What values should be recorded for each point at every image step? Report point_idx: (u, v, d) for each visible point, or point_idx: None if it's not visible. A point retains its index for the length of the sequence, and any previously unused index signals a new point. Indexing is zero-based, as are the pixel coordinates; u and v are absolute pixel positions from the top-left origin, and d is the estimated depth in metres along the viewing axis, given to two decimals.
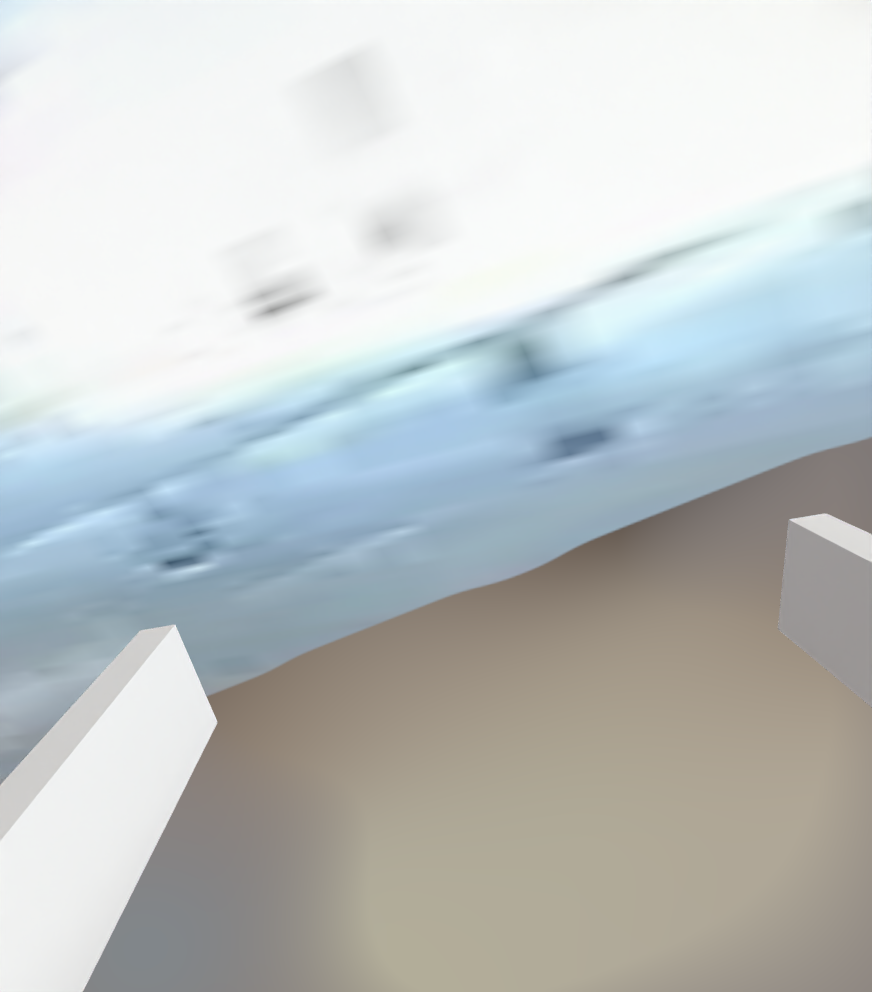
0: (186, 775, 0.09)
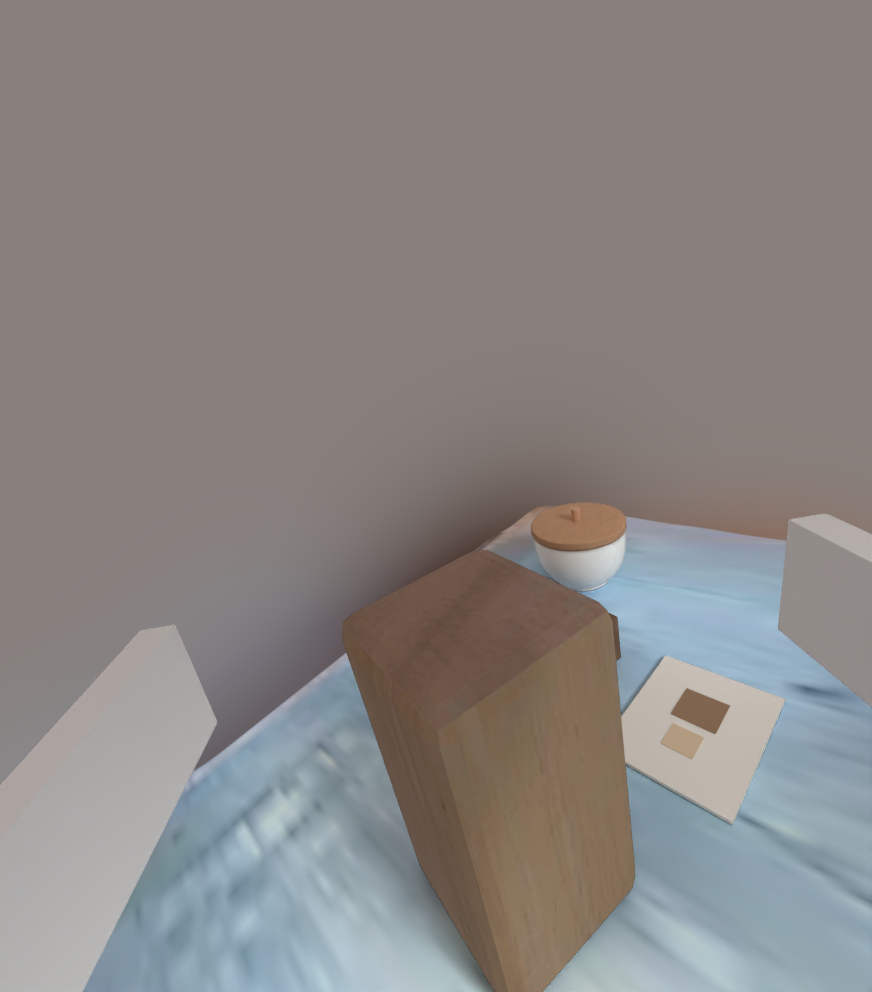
0: (186, 775, 0.09)
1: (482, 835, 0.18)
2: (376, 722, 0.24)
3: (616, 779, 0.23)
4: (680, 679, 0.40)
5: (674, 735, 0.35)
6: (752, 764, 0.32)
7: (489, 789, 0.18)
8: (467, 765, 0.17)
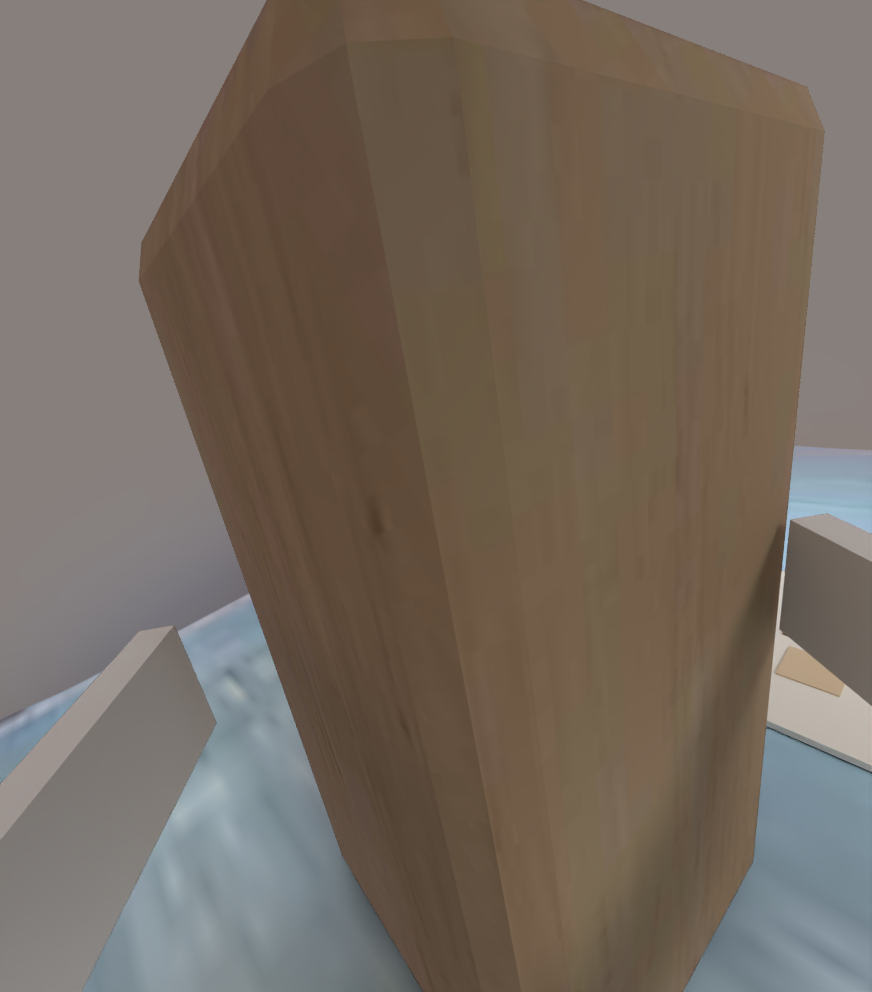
0: (185, 776, 0.09)
1: (518, 637, 0.05)
2: (225, 489, 0.10)
3: (773, 602, 0.10)
4: None
5: (797, 662, 0.21)
6: None
7: (551, 439, 0.05)
8: (479, 239, 0.04)
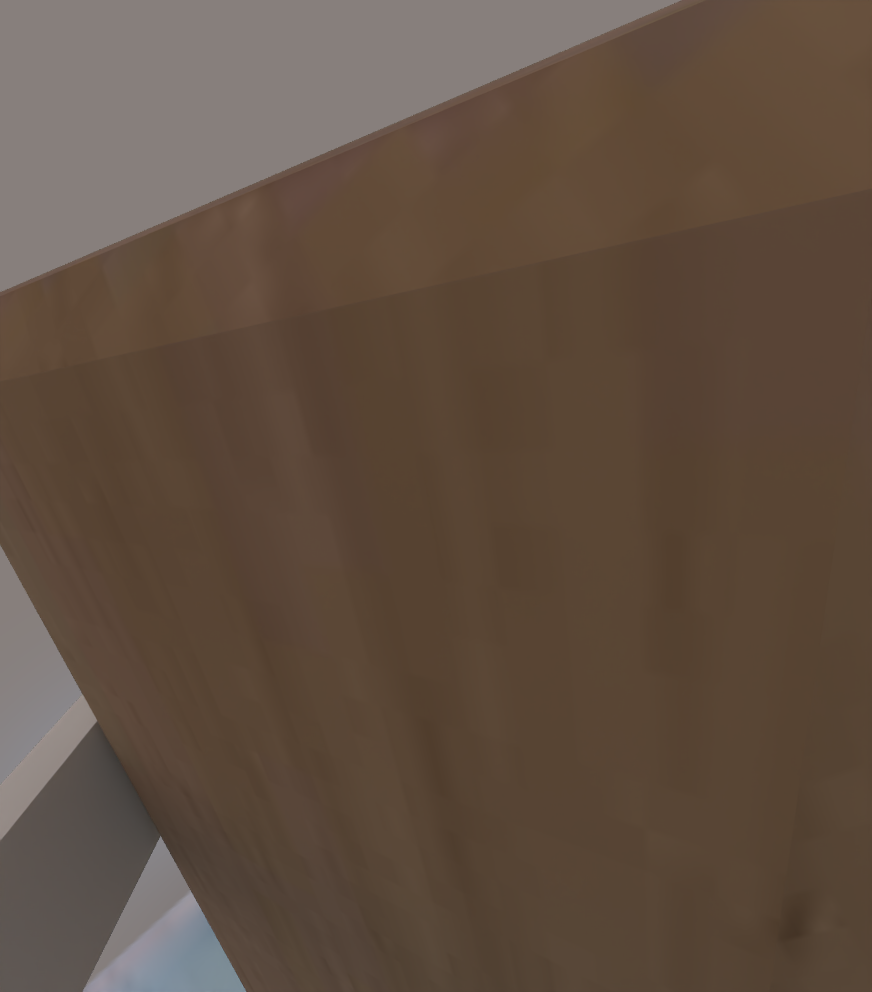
0: None
1: None
2: (147, 730, 0.06)
3: None
4: None
5: None
6: None
7: None
8: None
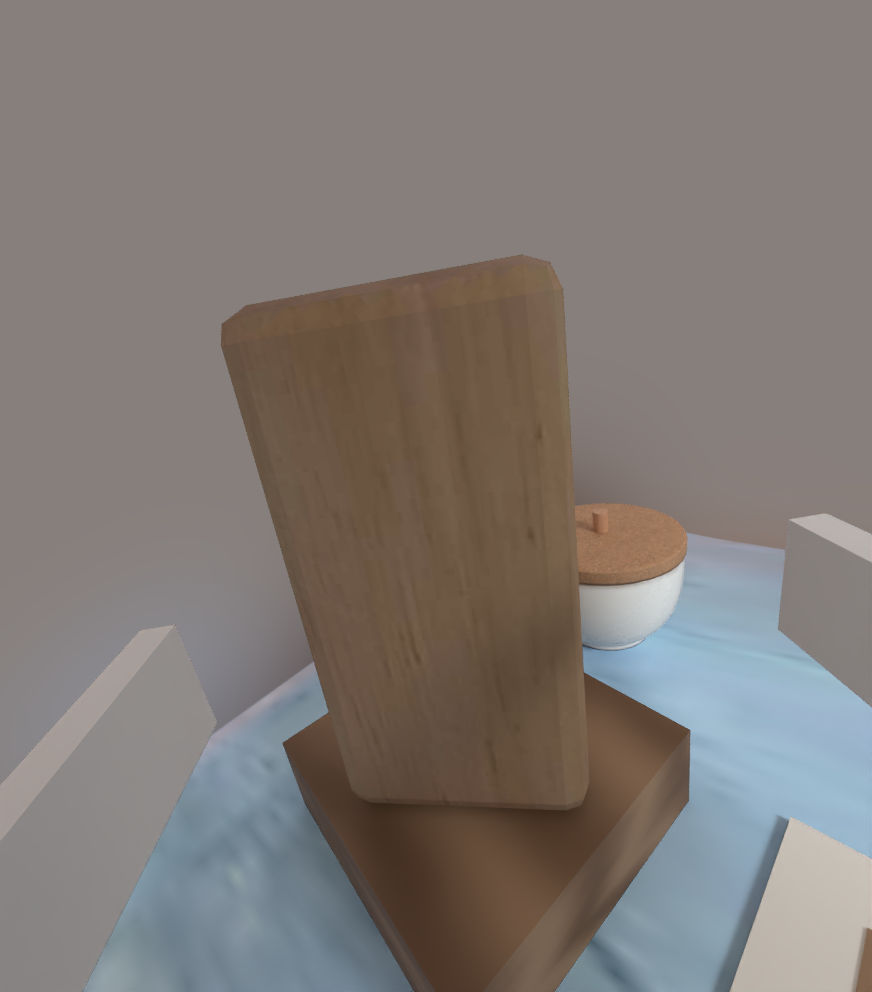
0: (186, 775, 0.09)
1: (571, 472, 0.14)
2: (322, 484, 0.14)
3: None
4: (843, 894, 0.18)
5: None
6: None
7: None
8: (565, 339, 0.13)
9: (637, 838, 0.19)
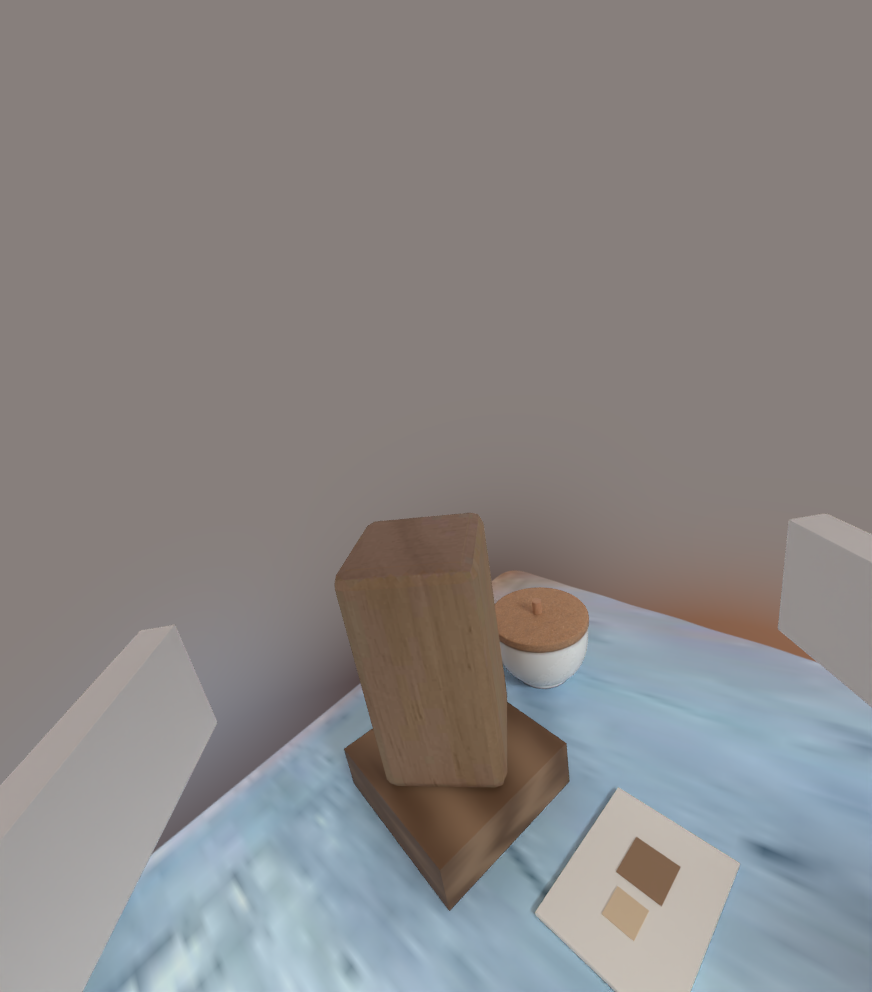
0: (186, 775, 0.09)
1: (486, 639, 0.32)
2: (377, 644, 0.33)
3: (495, 616, 0.41)
4: (630, 823, 0.37)
5: (617, 903, 0.32)
6: (698, 955, 0.29)
7: (484, 608, 0.32)
8: (480, 590, 0.31)
9: (534, 799, 0.38)
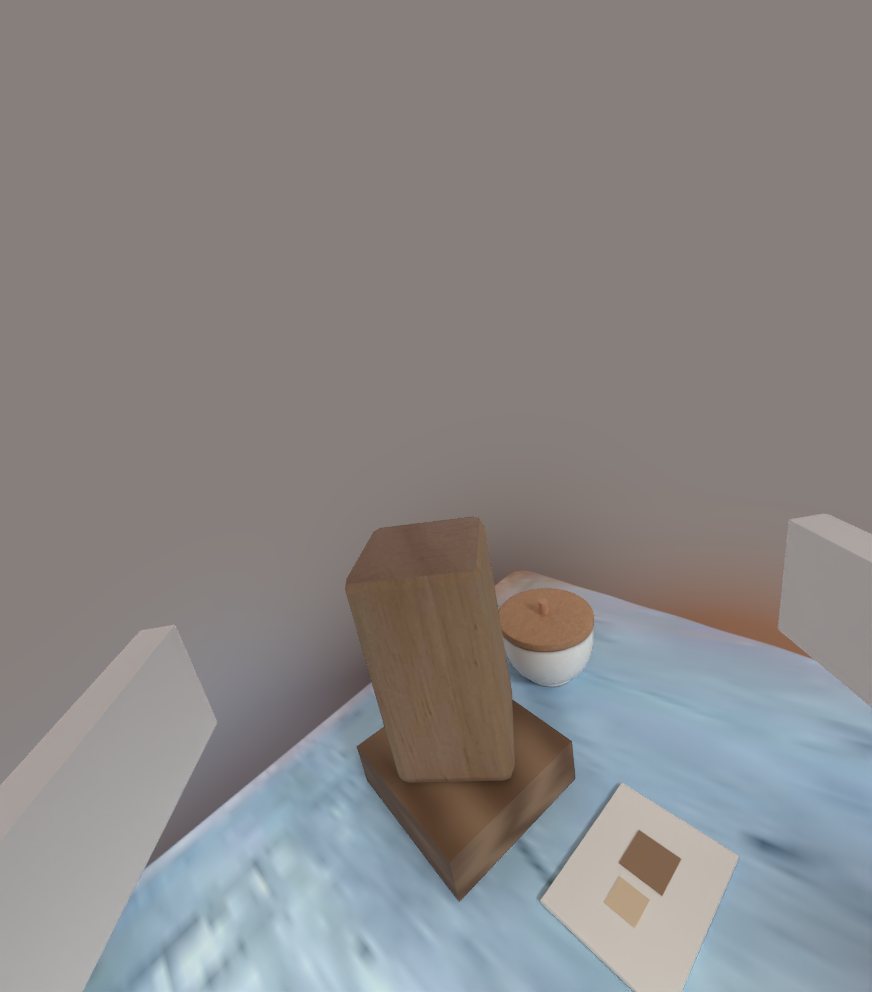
0: (186, 775, 0.09)
1: (491, 636, 0.34)
2: (387, 643, 0.34)
3: (498, 616, 0.42)
4: (633, 817, 0.38)
5: (619, 892, 0.33)
6: (696, 942, 0.30)
7: (488, 606, 0.34)
8: (484, 589, 0.33)
9: (540, 795, 0.39)
